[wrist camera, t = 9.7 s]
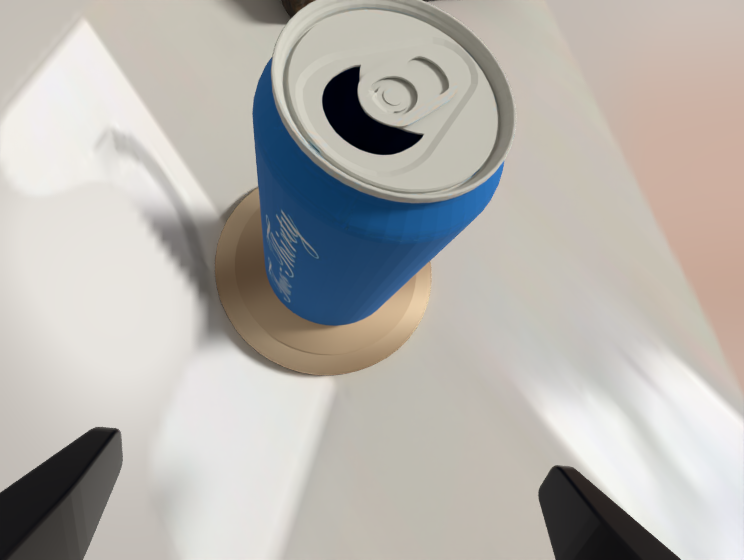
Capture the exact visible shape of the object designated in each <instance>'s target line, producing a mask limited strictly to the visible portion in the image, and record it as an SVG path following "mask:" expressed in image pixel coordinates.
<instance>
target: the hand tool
mask: <svg viewBox="0 0 744 560" xmlns="http://www.w3.org/2000/svg"><path fill="white" fill-rule="evenodd" d="M313 1H316V0H282V3H283V5H284V7H285V9H286V11H287V13H288V14H289V15H290V16H291V18H292V17H293V16H294V15H295V14H296V13H297V12H298V11H299V10H301V9H302V8H304V7H305V6H307V5H308V4H309V3H311V2H313Z"/></svg>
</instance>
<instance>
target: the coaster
mask: <svg viewBox="0 0 744 560" xmlns="http://www.w3.org/2000/svg"><path fill="white" fill-rule="evenodd" d="M215 277H216V284H217V289H218V293H219V296H220V300H221V303H222V305H223V307H224V309H225V312H226V314H227V316H228V318H229V319H230V321H231V322H232V324H233V326H234V327H235V329H236V330H237V332H238V333H239V334H240V335H241V336H242V337H243V339H244V340H245V341H246V342H247V343H248V344H249V345H250V346H252V347H253V348H254V349H255V350H256V351H257V352H258V353H260V354H262V355H263V356H265V357H266V358H268V359H269V360H271V361H273V362H275V363H277V364H279V365H281V366H283V367H285V368H288V369H291V370H295V371H298V372H302V373H308V374H313V375H338V374H346V373H350V372H355V371H359V370H361V369H364V368H367V367H369V366H372V365H374V364H376V363H378V362H380V361H382V360H383V359H385V358H387V357H388V356H390V355H391V354H392V353H394V352H395V351H396V350H398V349H399V348H400V347H401V346H402V345H403V344H404V343H405V342H406V341H407V340H408V339H409V337H410V336H411V335H412V333H413V332H414V331H415V329H416V328H417V326H418V324H419V323H420V321H421V319H422V317H423V315H424V312H425V309H426V307H427V304H428V300H429V296H430V289H431V264H430V261H429V262H428V263H427V264H426V265H425V266H424V267H423V268H422V269H421V270H420V271H419V272H417V273H416V274H415V275H414V276H413V277H412V278H411V279H410V280H409V281H408V282H407V283H406V284H405V285H404V286H403V287H401V288H400V289H399V290H398V291H397V292H396V293H395V294H394V295H393V296H392V297H391V298H390V299H389V300H388V301H387V302H385V303H384V304H383V305H382V306H381V307H380V308H379V309H378V310H377V311H376V312H374V313H373V314H372V315H370V316H368V317H367V318H365V319H363V320H360V321H358V322H355V323H351V324H347V325H339V326H330V325H322V324H317V323H314V322H310V321H308V320H306V319H303V318H301V317H300V316H298V315H296V314H295V313H293V312H292V311H291V310H289V309H288V308H287V307H286V306H285V305H284V304H283V303H282V302H281V301H280V300H279V299H278V297H277V296H276V294H275V293H274V291H273V289H272V287H271V286H270V283H269V280H268V278H267V274H266V269H265V259H264V247H263V235H262V223H261V211H260V199H259V187H258V188H257V189H255V190H254V191H253V192H251V193H250V194H249V195H248V196H247V197H245V198H244V199H243V200H242V202H241V203H240V204H239V205H238V206H237V207H236V208H235V210H234V211H233V213H232V214H231V215H230V217H229V218H228V220H227V222H226V224H225V226H224V228H223V230H222V233H221V236H220V239H219V242H218V245H217V251H216V257H215Z"/></svg>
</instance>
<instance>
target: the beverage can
mask: <svg viewBox="0 0 744 560" xmlns="http://www.w3.org/2000/svg"><path fill="white" fill-rule="evenodd" d="M253 128H254V140H255V152H256V164H257V175H258V187H259V199H260V211H261V223H262V235H263V247H264V259H265V269H266V274H267V278H268V280H269V283H270V286H271V287H272V289H273V291H274V293H275V294H276V296H277V297H278V299H279V300H280V301H281V302H282V303H283V304H284V305H285V306H286V307H287V308H288V309H289V310H291V311H292V312H293V313H295V314H296V315H298V316H300V317H301V318H303V319H306V320H308V321H310V322H314V323H317V324H322V325H330V326H339V325H347V324H351V323H355V322H358V321H360V320H363V319H365V318H367V317H368V316H370V315H372V314H373V313H374V312H376V311H377V310H378V309H379V308H380V307H381V306H382V305H383V304H384V303H385V302H387V301H388V300H389V299H390V298H391V297H392V296H393V295H394V294H395V293H396V292H397V291H398V290H399V289H400V288H401V287H403V286H404V285H405V284H406V283H407V282H408V281H409V280H410V279H411V278H412V277H413V276H414V275H415V274H416V273H417V272H419V271H420V270H421V269H422V268H423V267H424V266H425V265H426V264H427V263H428V262H429V261H430V260H431V259H432V258H433V257H435V256H436V255H437V254H438V253H439V252H440V251H441V250H442V249H443V248H444V247H445V246H446V245H447V244H448V243H449V242H451V241H452V240H453V239H454V238H455V237H456V236H457V235H458V234H459V233H460V232H461V231H462V230H463V229H464V228H465V227H467V226H468V225H469V224H470V223H471V222H472V221H473V220H474V219H475V218H476V217H477V216H478V215H479V214H480V213H481V212H482V211H483V210H484V208H485V207H486V206H487V204H488V203H489V201H490V200H491V198H492V196H493V194H494V192H495V190H496V188H497V186H498V184H499V181H500V177H501V174H502V171H503V166H504V160H505V158H506V156H507V154H508V152H509V150H510V148H511V145H512V142H513V139H514V135H515V128H516V107H515V101H514V96H513V93H512V89H511V86H510V83H509V81H508V79H507V76H506V74H505V72H504V70H503V69H502V67H501V65H500V63H499V61H498V60H497V59H496V57H495V56H494V54H493V53H492V52H491V50H490V49H489V48H488V47H487V46H486V44H485V43H484V42H483V41H482V40H481V39H480V38H479V37H478V36H477V35H476V34H475V33H474V32H473V31H472V30H471V29H469V28H468V27H467V26H466V25H464V24H463V23H462V22H461V21H459V20H458V19H456V18H455V17H453V16H452V15H450V14H449V13H447V12H445V11H443V10H442V9H440V8H438V7H436V6H434V5H432V4H430V3H427V2H425V1H423V0H316V1H313V2H311V3H309V4H308V5H307V6H305V7H304V8H302V9H301V10H299V11H298V12H297V13H296V14H295V15H294V16H293V17H292V18H291V19H290V20H289V21H288V23H287V24H286V25H285V27H284V28H283V30H282V31H281V33H280V35H279V37H278V40H277V42H276V44H275V48H274V52H273V55H272V58H271V59H270V60H269V62H268V63H267V65H266V67H265V68H264V71H263V73H262V75H261V77H260V79H259V82H258V85H257V89H256V92H255V96H254V103H253Z"/></svg>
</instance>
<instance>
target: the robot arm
mask: <svg viewBox="0 0 744 560" xmlns="http://www.w3.org/2000/svg"><path fill="white" fill-rule="evenodd" d="M122 461H123V455H122V439H121V432H120V430H119V429H116V428H106V427H96V428H93V429H91V430H89V431H88V432H87V433H85V434H84V435H82V436H81V437H79V438H78V439H76V440H75V441H74V442H72V443H71V444H69V445H68V446H67V447H65V448H63V449H62V450H61V451H59V452H58V453H56V454H55V455H53V456H52V457H51V458H49V459H48V460H46V461H45V462H43V463H42V464H41V465H39V466H38V467H37V468H35V469H33V470H32V471H31V472H29V473H28V474H26V475H25V476H23V477H22V478H21V479H19V480H18V481H16V482H15V483H13V484H12V485H11V486H9V487H8V488H7V489H5V490H4V491H2V492H1V493H0V560H83V558H84V556H85V554H86V551H87V549H88V547H89V545H90V542H91V540H92V537H93V535H94V533H95V530H96V528H97V525H98V523H99V521H100V518H101V516H102V513H103V511H104V509H105V506H106V504H107V502H108V499H109V497H110V494H111V492H112V490H113V487H114V485H115V482H116V480H117V477H118V475H119V473H120V470H121V466H122ZM538 496H539V502H540V505H541V509H542V513H543V516H544V520H545V523H546V527H547V530H548V534H549V538H550V541H551V545H552V548H553V552H554V555H555V559H556V560H681V559H680V558H679V557H678V556H676V555H675V554H674V553H673V552H672V551H671V550H669V549H668V548H667V547H666V546H665V545H664V544H662V543H661V542H660V541H659V540H658V539H657V538H655V537H654V536H653V535H652V534H651V533H650V532H648V531H647V530H646V529H645V528H644V527H643V526H641V525H640V524H639V523H638V522H637V521H635V520H634V519H633V518H632V517H631V516H630V515H628V514H627V513H626V512H625V511H624V510H623V509H621V508H620V507H619V506H618V505H617V504H616V503H614V502H613V501H612V500H611V499H610V498H609V497H607V496H606V495H605V494H604V493H603V492H602V491H600V490H599V489H598V488H597V487H596V486H595V485H593V484H592V483H591V482H590V481H589V480H588V479H586V478H585V477H584V476H583V475H582V474H581V473H579V472H578V471H577V470H576V469H574V468H573V467H570V466H560V465H556V466H554V467H552V468H551V470H550V471H549V473H548V475H547V476H546V478H545V480H544V481H543V483H542V484H541V486H540V488H539V494H538Z"/></svg>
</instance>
